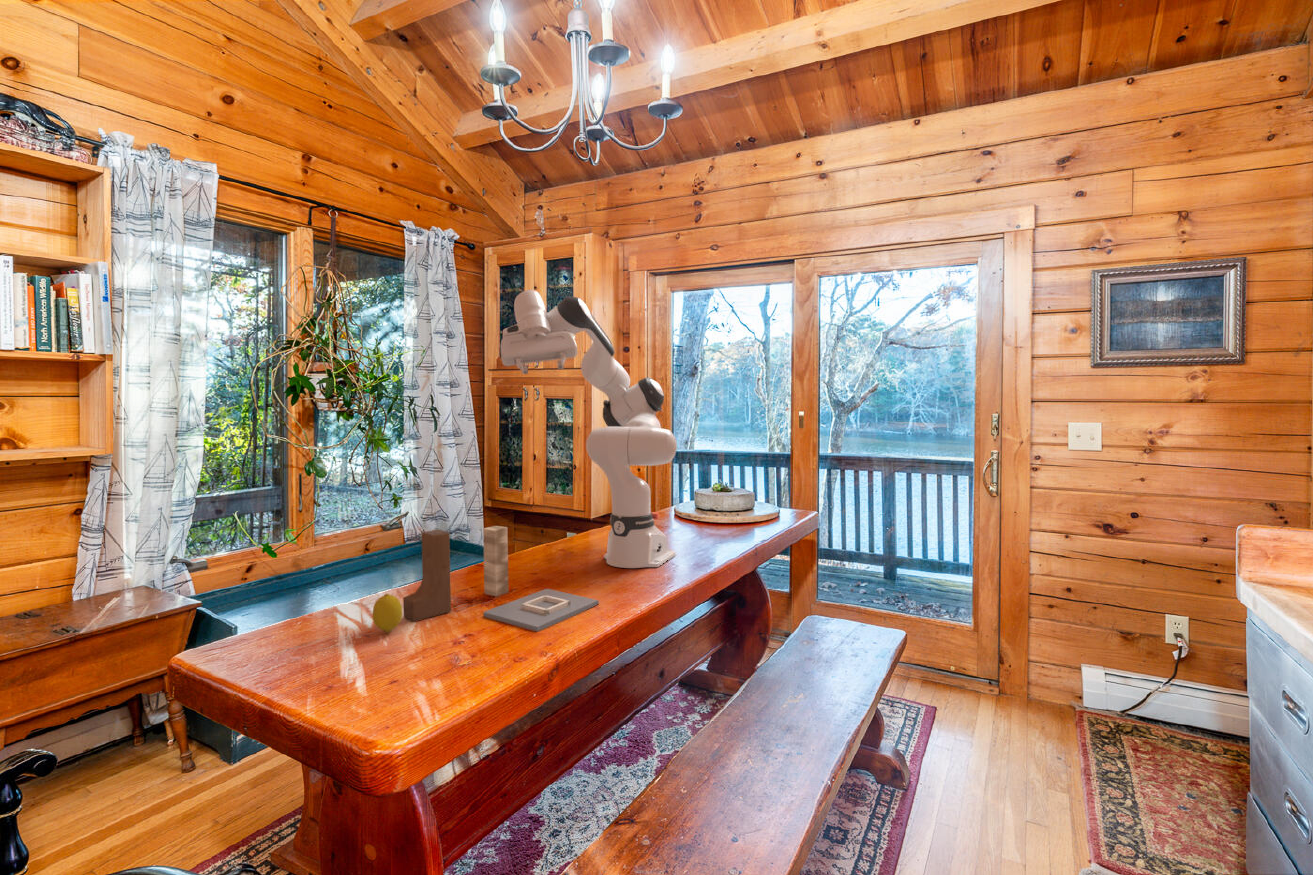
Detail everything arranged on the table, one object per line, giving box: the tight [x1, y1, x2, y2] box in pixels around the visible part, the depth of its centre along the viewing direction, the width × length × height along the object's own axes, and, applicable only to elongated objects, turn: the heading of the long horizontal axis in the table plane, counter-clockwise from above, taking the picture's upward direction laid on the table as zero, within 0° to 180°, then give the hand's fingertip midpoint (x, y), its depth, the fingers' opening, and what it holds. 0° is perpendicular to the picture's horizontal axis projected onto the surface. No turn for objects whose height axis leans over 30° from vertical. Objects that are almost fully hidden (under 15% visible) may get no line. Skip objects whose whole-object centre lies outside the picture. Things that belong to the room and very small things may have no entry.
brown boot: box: [402, 529, 452, 623], centre depth 139 cm, size 9×4×18 cm, turn 137°
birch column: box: [483, 525, 509, 597], centre depth 155 cm, size 4×4×16 cm
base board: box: [482, 588, 600, 633], centre depth 143 cm, size 20×16×2 cm
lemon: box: [372, 593, 403, 634], centre depth 129 cm, size 6×6×8 cm
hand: (543, 369), depth 167 cm, fingers open, 8 cm apart
